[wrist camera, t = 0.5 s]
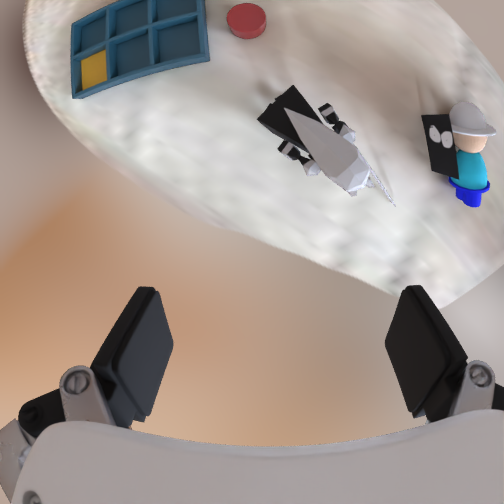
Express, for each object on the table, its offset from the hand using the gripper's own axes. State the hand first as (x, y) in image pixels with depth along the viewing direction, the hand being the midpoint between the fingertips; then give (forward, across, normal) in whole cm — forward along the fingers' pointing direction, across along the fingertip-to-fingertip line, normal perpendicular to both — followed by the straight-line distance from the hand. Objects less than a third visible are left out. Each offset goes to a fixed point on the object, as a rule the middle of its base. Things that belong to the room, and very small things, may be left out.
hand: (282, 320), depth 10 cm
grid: (+28, +18, -22) cm, 40 cm away
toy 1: (+28, -8, -2) cm, 29 cm away
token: (+28, +2, -21) cm, 35 cm away
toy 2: (+28, -28, -6) cm, 40 cm away
